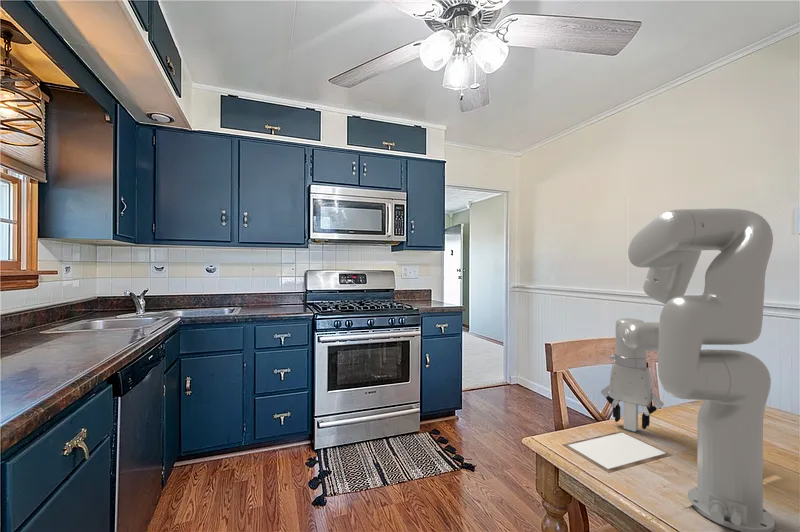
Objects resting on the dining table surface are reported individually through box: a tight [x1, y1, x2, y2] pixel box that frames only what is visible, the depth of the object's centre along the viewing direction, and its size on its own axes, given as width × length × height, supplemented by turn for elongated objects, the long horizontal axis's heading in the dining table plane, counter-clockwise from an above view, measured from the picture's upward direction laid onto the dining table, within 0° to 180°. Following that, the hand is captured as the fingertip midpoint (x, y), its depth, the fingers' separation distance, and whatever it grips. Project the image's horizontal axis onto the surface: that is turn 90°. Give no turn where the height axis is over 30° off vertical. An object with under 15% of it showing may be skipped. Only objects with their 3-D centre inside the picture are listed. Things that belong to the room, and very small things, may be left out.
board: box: [562, 430, 673, 474], centre depth 94 cm, size 22×14×1 cm, turn 111°
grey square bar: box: [623, 402, 639, 433], centre depth 105 cm, size 3×3×11 cm
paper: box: [568, 432, 666, 470], centre depth 94 cm, size 20×12×1 cm, turn 111°
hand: (630, 423), depth 105 cm, fingers open, 6 cm apart
